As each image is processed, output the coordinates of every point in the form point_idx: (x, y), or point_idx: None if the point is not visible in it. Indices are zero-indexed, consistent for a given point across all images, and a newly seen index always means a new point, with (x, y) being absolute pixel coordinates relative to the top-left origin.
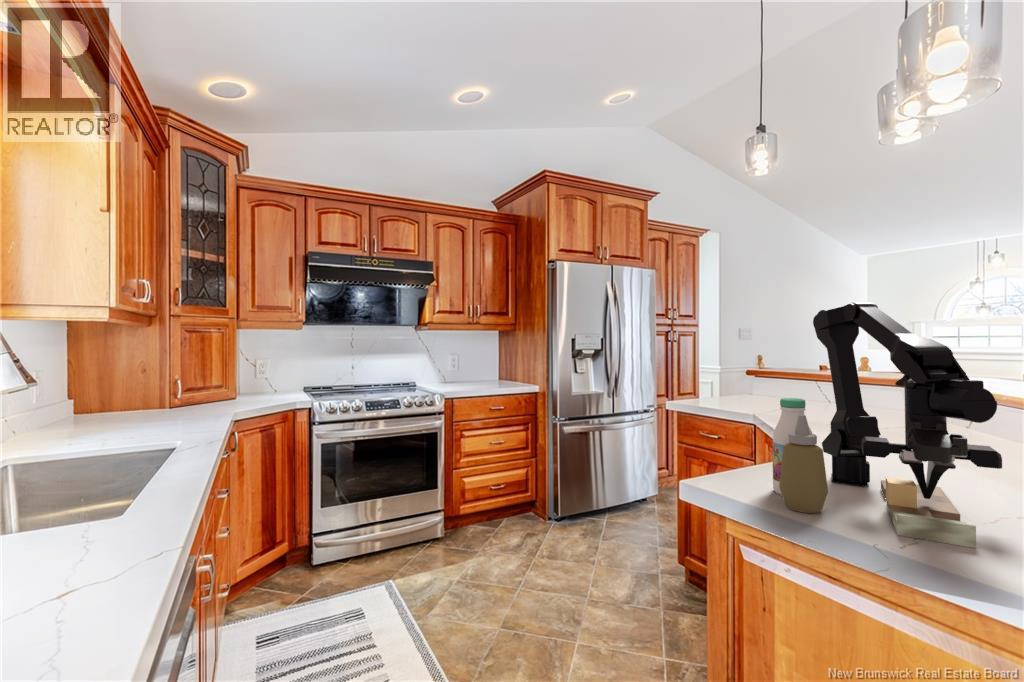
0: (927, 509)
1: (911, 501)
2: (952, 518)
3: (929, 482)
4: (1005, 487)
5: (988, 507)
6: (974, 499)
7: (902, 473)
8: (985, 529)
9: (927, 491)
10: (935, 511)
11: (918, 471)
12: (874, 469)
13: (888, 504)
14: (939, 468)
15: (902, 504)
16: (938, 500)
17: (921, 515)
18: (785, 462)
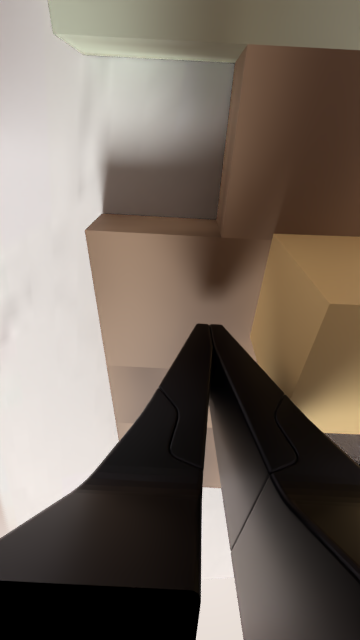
0: (224, 237)
1: (312, 246)
2: (123, 223)
3: (208, 388)
4: (19, 518)
5: (33, 425)
6: (63, 460)
7: None
8: (18, 211)
9: (213, 345)
10: (189, 234)
11: (327, 479)
12: (224, 540)
13: None
14: (110, 552)
15: (346, 239)
16: (148, 383)
17: (314, 52)
18: None
